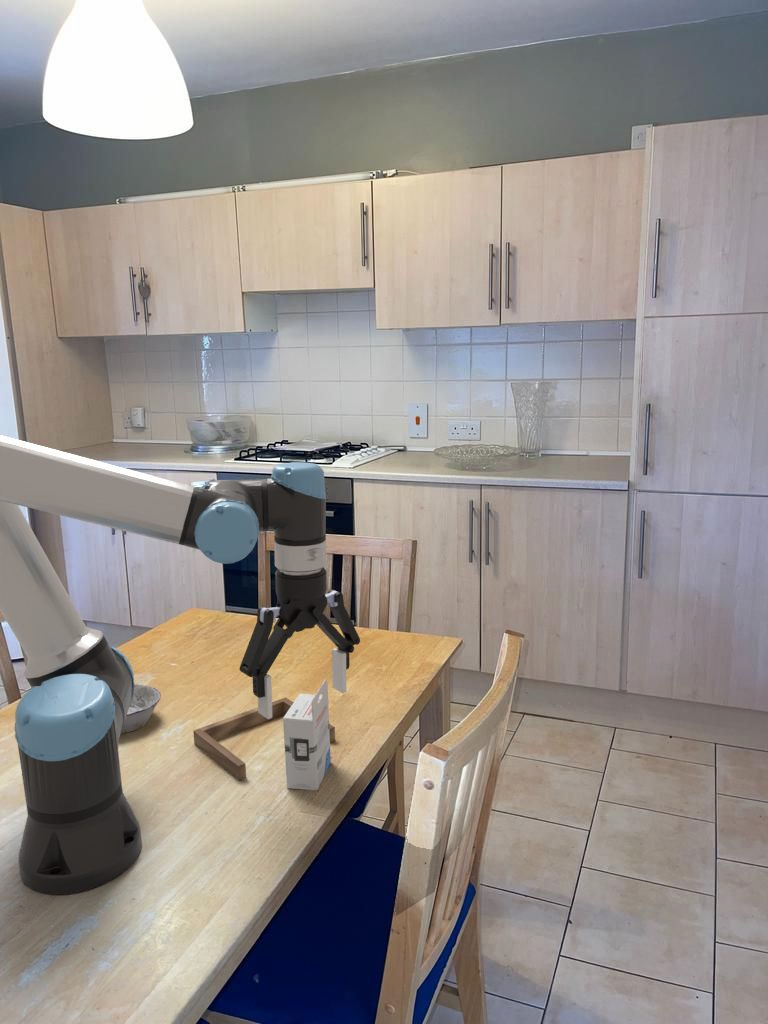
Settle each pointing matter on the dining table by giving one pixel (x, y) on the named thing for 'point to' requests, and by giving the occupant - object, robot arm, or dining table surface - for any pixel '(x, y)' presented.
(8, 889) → the dining table surface
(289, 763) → the ink box
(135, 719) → the bowl
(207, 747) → the wooden u-shaped frame
